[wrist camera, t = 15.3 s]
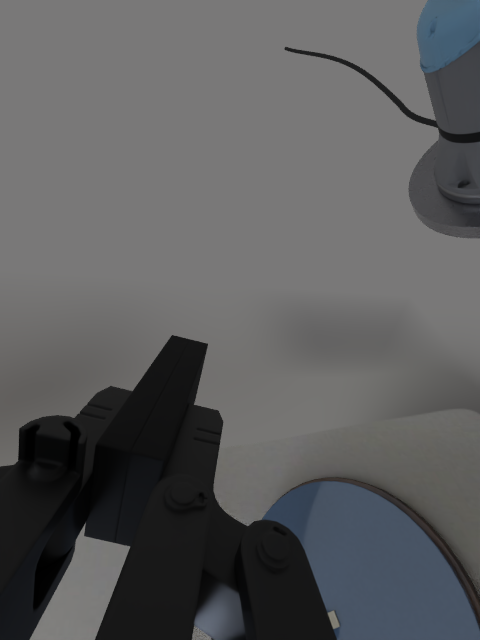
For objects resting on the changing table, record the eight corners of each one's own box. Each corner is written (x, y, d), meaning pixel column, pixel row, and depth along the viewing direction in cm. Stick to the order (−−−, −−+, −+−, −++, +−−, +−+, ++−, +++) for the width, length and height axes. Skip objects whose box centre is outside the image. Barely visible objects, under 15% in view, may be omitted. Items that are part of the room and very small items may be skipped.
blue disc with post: (375, 443, 37) (305, 400, 26) (595, 794, 20) (661, 1100, 9) (223, 533, 44) (115, 530, 33) (294, 857, 27) (117, 1081, 16)
